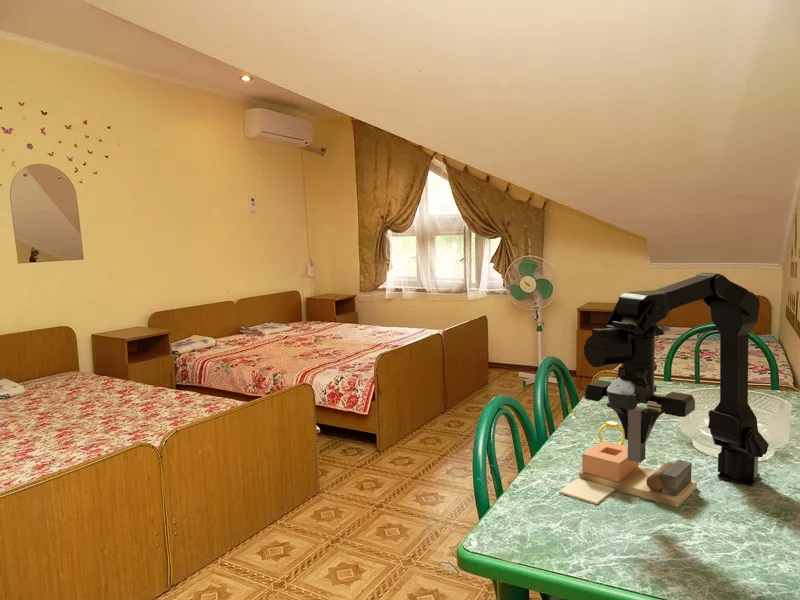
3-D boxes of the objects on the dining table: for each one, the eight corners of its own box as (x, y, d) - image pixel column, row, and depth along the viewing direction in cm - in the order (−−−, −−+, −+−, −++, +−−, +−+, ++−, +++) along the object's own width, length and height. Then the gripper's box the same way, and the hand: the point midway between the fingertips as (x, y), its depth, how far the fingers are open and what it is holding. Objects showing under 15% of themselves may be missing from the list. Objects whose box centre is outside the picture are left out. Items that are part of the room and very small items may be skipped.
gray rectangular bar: (645, 459, 111) (646, 407, 109) (640, 462, 109) (640, 411, 108) (632, 455, 112) (633, 405, 111) (627, 459, 111) (628, 408, 109)
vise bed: (696, 487, 119) (697, 461, 118) (677, 507, 111) (677, 479, 110) (602, 463, 132) (602, 439, 132) (579, 479, 125) (579, 454, 124)
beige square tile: (614, 490, 119) (614, 488, 119) (596, 504, 113) (596, 502, 113) (578, 479, 124) (578, 478, 124) (559, 492, 119) (559, 490, 118)
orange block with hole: (638, 466, 126) (639, 448, 126) (619, 481, 119) (619, 463, 118) (603, 457, 132) (603, 440, 131) (582, 471, 124) (582, 453, 124)
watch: (623, 446, 143) (625, 422, 142) (624, 450, 140) (626, 426, 140) (598, 442, 145) (600, 419, 144) (597, 446, 142) (599, 422, 142)
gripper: (570, 361, 109) (570, 442, 111) (674, 376, 96) (672, 467, 98) (597, 351, 117) (597, 426, 119) (697, 364, 104) (694, 448, 106)
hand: (636, 441), depth 110 cm, fingers closed on gray rectangular bar, 2 cm apart
